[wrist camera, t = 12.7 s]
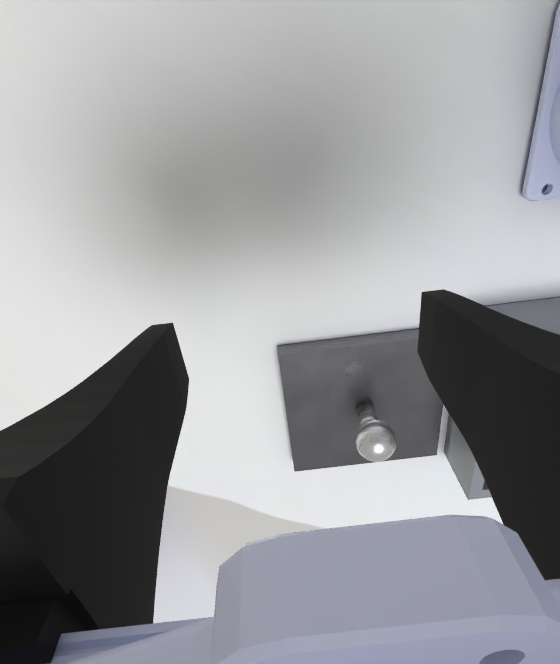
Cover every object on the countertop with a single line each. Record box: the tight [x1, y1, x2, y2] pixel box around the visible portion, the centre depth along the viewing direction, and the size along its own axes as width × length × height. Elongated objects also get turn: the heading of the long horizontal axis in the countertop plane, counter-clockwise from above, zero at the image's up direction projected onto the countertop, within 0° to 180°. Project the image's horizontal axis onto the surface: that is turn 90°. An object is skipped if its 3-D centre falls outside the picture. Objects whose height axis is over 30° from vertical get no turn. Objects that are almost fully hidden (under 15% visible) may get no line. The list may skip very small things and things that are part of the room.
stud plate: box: [278, 329, 443, 471], centre depth 25 cm, size 10×10×5 cm
